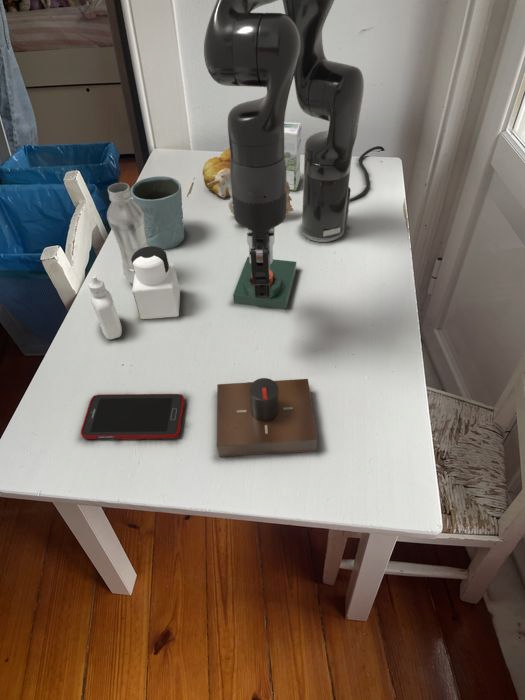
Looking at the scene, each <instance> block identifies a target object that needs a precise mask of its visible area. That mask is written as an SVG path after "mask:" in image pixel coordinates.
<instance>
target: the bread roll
mask: <svg viewBox="0 0 525 700" xmlns="http://www.w3.org/2000/svg"><path fill="white" fill-rule="evenodd" d="M230 164H231V156H230V147H229V148H227V149H225V150H224V151H223V152H222V153H220V155H219V157H218V156H214V157H212V158H209V159H208V160H206V161H205V162H204V165H203V167H202V176H203V182H204V186H205V187H206V188H207V189H208V190H210V191H211V192H214V193H215V194H216V195H217V196H219V188H218V186H217V185H216V184H213V185H208V183H211V182H213V181H215V179H216V178H215V177H213V176H212V175H217V173H218V172H219V171H221V170H223V169H225V168H228V169H230ZM225 192H226V195H225V197H228V196H229V197H230V194H229V188H228V186H227V187H226V190H225Z"/></svg>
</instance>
